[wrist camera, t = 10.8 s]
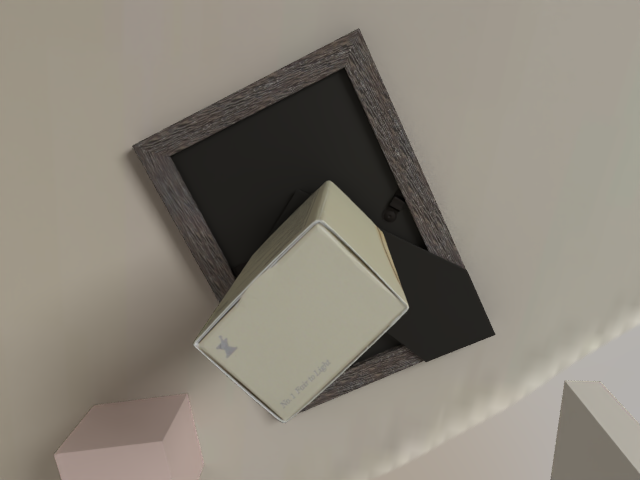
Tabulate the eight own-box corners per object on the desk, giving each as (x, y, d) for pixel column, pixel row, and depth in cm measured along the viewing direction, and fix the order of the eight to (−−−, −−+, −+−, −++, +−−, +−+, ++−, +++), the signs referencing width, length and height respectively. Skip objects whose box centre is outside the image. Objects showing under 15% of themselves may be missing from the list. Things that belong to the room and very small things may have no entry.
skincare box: (306, 308, 30) (281, 434, 19) (247, 253, 30) (184, 348, 18) (387, 230, 29) (417, 312, 17) (328, 171, 29) (317, 215, 17)
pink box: (114, 473, 35) (77, 532, 30) (94, 404, 34) (53, 454, 29) (204, 462, 35) (182, 520, 30) (187, 392, 33) (162, 441, 29)
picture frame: (486, 321, 32) (358, 32, 29) (495, 335, 30) (359, 26, 27) (286, 405, 34) (142, 143, 30) (283, 423, 32) (129, 146, 29)
